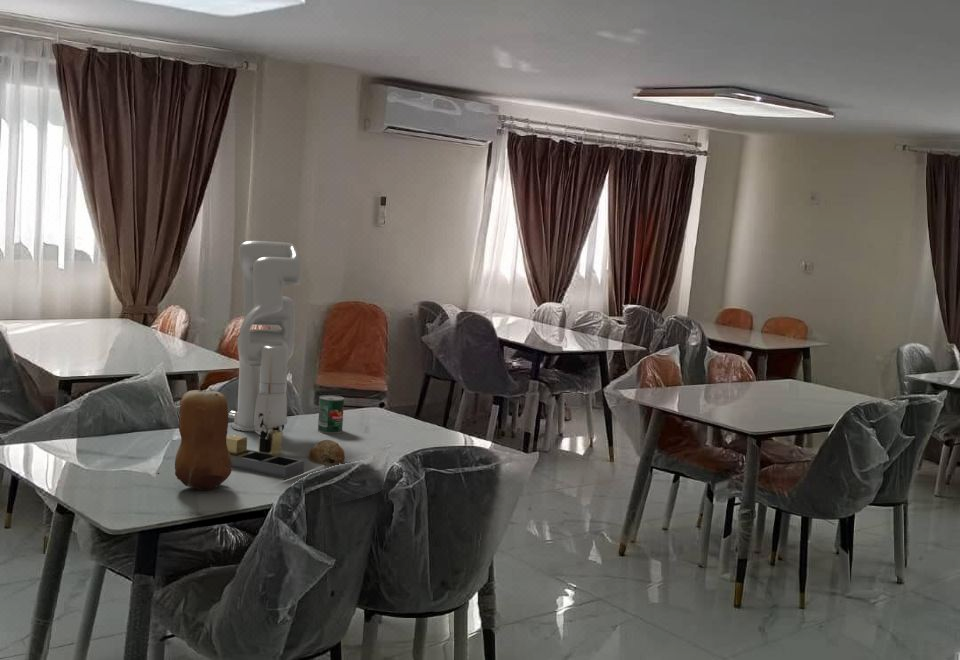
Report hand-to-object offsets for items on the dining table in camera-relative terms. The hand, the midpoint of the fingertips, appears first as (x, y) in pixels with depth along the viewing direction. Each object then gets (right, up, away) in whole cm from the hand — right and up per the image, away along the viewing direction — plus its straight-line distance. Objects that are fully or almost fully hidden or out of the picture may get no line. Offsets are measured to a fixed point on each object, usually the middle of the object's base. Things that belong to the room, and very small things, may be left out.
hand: (269, 449), depth 282 cm
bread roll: (+16, -3, -1) cm, 17 cm away
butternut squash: (-9, -6, -36) cm, 38 cm away
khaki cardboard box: (-7, -2, -12) cm, 14 cm away
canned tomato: (+12, +2, +35) cm, 37 cm away
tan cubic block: (0, -2, 0) cm, 2 cm away
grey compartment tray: (0, -3, -15) cm, 15 cm away
